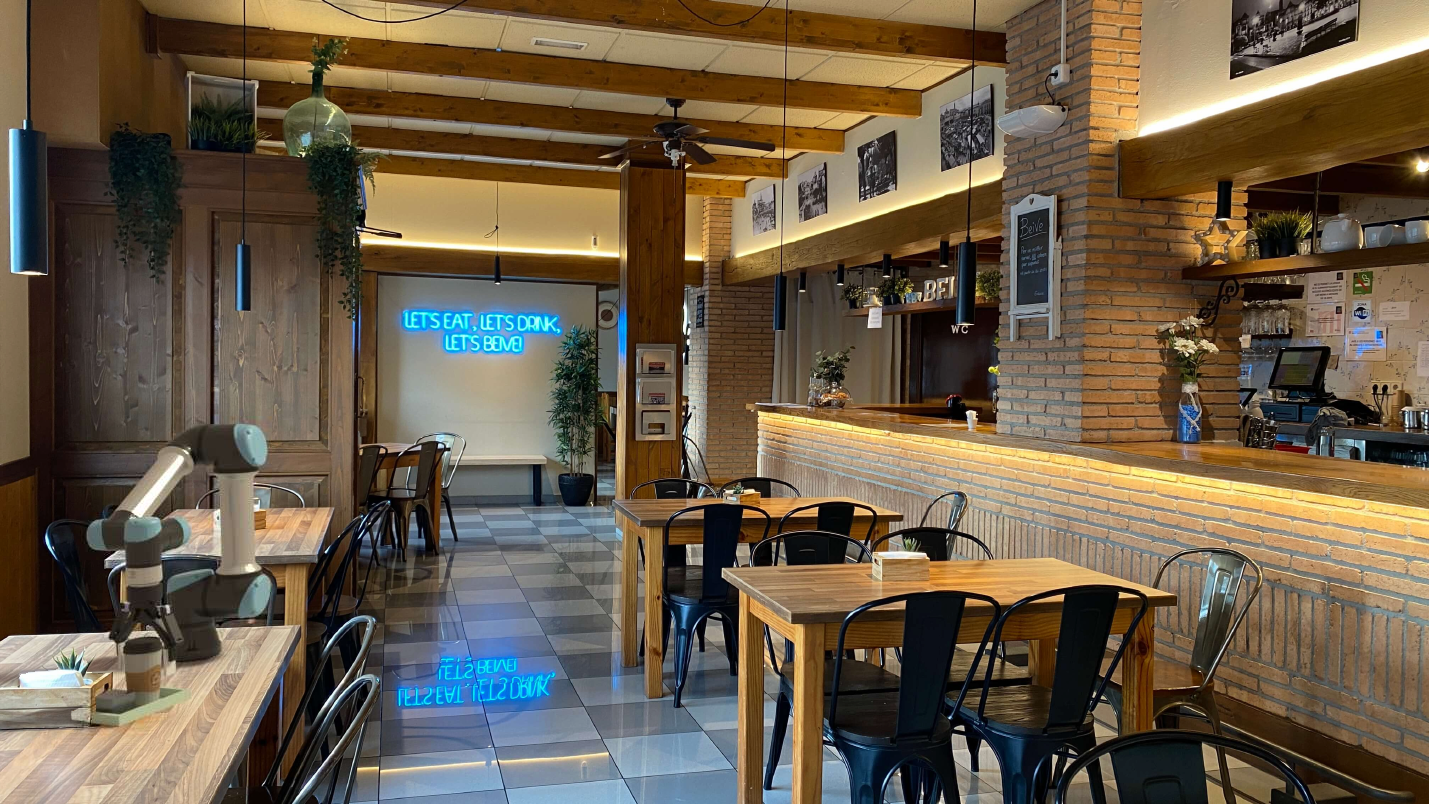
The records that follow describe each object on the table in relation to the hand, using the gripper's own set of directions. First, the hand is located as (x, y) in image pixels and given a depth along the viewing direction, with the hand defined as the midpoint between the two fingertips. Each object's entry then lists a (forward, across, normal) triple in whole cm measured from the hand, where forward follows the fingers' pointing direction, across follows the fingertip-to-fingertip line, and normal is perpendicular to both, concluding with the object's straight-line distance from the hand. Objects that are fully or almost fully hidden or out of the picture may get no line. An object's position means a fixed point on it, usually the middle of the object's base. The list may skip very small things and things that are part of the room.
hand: (147, 672), depth 240 cm
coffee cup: (+7, -1, 0) cm, 8 cm away
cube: (+7, 0, -10) cm, 12 cm away
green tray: (+8, 0, -4) cm, 9 cm away
